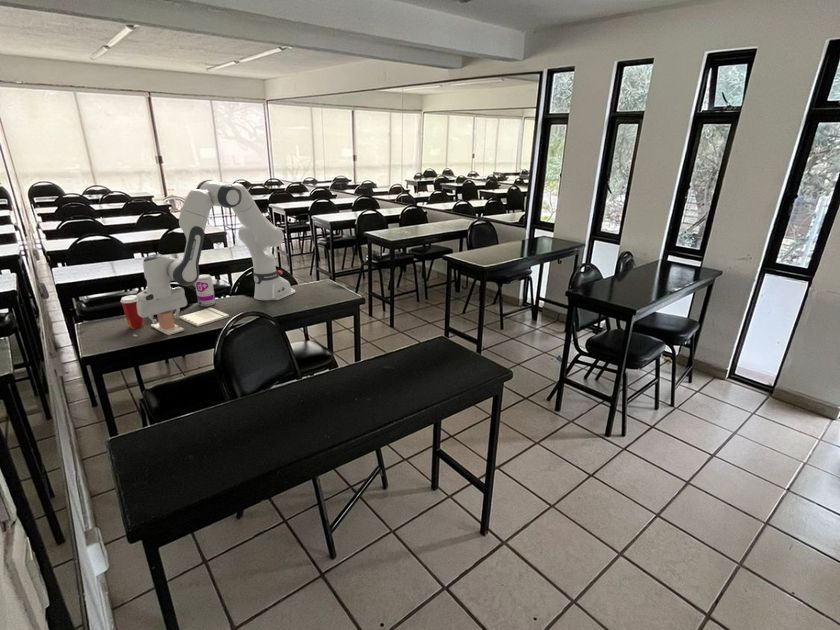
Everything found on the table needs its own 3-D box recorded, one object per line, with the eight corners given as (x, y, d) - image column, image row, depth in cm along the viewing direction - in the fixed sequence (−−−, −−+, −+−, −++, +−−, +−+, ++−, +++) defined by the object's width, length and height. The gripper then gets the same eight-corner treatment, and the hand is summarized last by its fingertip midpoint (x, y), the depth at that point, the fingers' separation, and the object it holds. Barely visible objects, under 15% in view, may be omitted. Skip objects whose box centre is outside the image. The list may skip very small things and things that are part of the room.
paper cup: (149, 323, 214) (143, 295, 208) (138, 330, 206) (132, 300, 201) (134, 322, 214) (127, 294, 209) (122, 329, 207) (115, 299, 202)
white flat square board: (211, 309, 232) (210, 307, 231) (229, 316, 223) (229, 314, 222) (179, 318, 220) (179, 316, 219) (197, 326, 211) (197, 324, 210)
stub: (166, 321, 215) (163, 306, 212) (184, 330, 206) (181, 314, 203) (151, 326, 210) (147, 310, 207) (168, 335, 201) (165, 318, 198)
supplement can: (211, 306, 235) (207, 278, 230) (195, 306, 235) (190, 278, 230) (218, 301, 243) (214, 274, 237) (203, 301, 243) (198, 273, 237)
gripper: (179, 284, 211) (185, 312, 216) (132, 295, 196) (139, 325, 201) (186, 287, 207) (192, 315, 213) (138, 299, 192) (145, 329, 197)
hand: (165, 320), depth 207 cm, fingers open, 8 cm apart
